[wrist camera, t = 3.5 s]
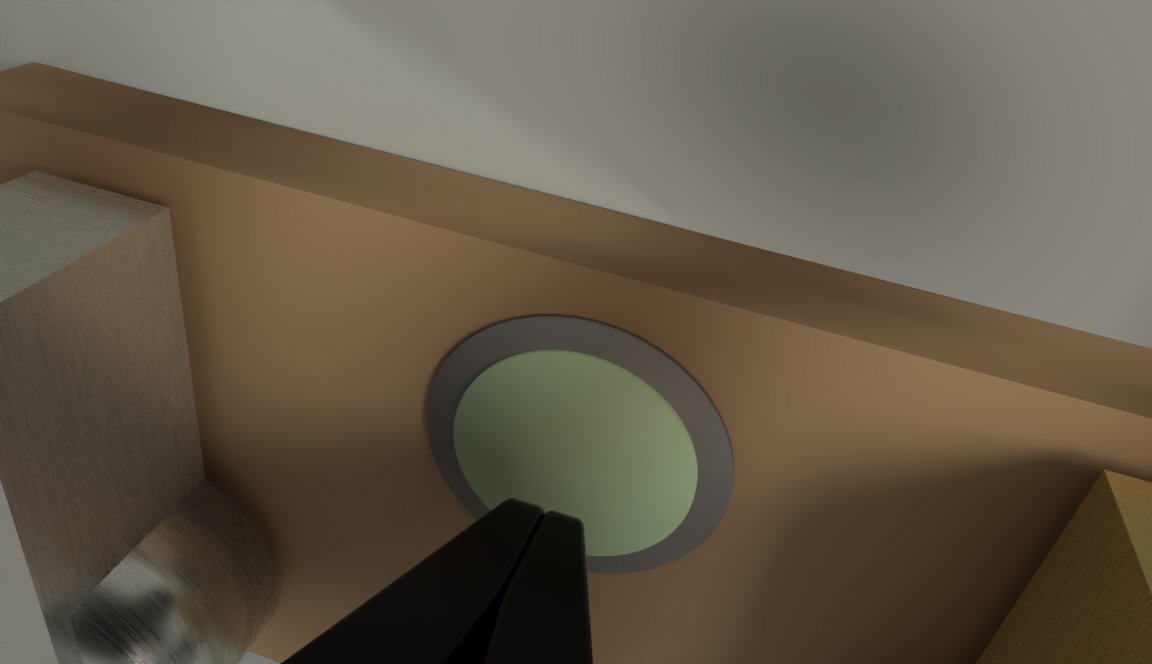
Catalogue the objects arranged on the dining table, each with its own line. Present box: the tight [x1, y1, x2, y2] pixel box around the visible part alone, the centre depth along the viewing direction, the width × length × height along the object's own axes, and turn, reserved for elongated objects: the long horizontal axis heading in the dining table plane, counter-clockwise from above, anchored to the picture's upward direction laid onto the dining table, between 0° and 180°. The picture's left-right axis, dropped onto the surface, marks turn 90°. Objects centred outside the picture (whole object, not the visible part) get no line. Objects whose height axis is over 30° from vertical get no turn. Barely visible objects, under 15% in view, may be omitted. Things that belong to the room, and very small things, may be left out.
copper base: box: [0, 63, 1152, 664], centre depth 12 cm, size 17×9×2 cm, turn 81°
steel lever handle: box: [0, 171, 281, 664], centre depth 11 cm, size 8×4×3 cm, turn 171°
